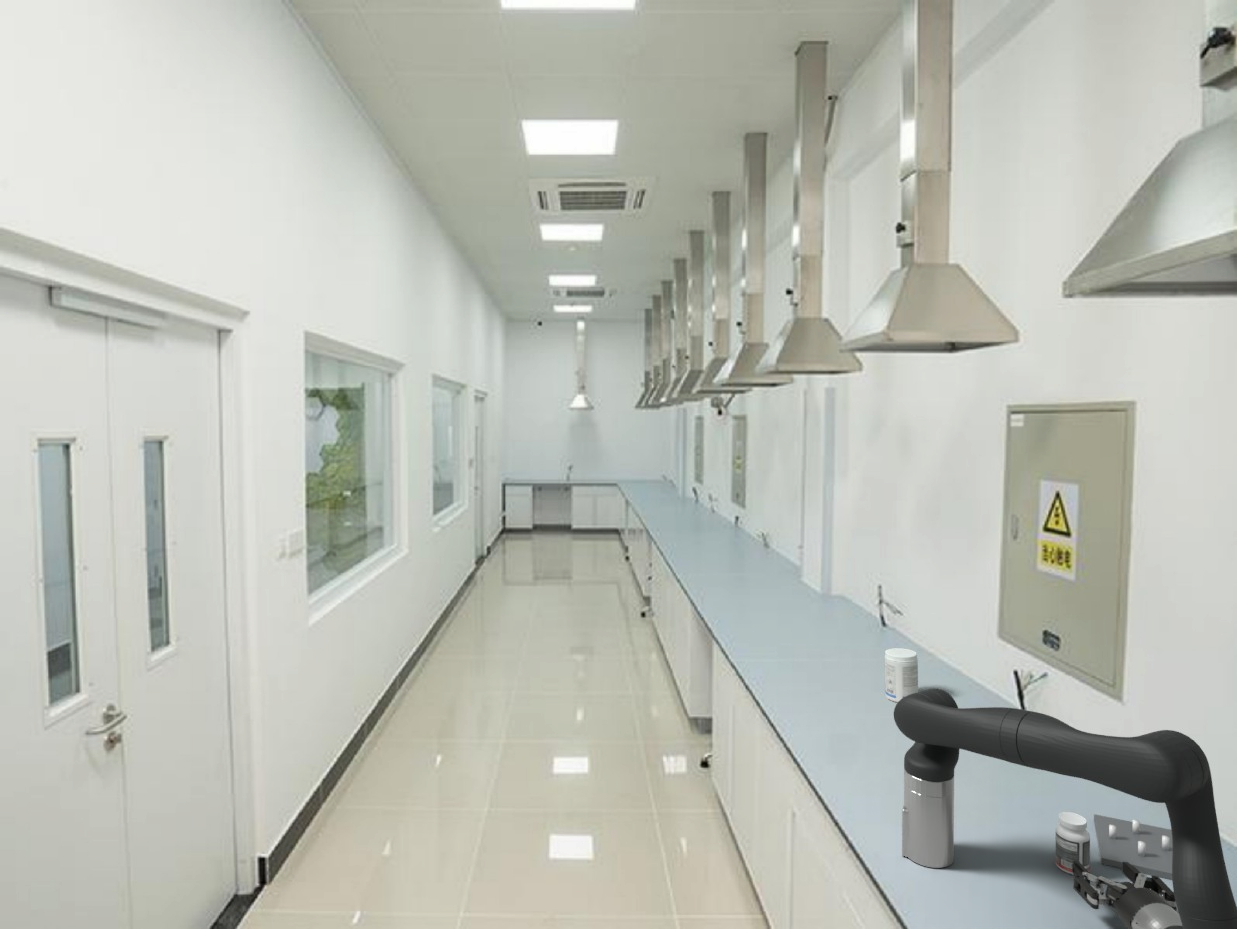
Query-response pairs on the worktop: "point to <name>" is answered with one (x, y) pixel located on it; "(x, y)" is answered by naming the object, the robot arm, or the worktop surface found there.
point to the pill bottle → (1072, 842)
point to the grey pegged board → (1134, 845)
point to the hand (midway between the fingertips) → (1099, 865)
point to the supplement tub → (900, 673)
